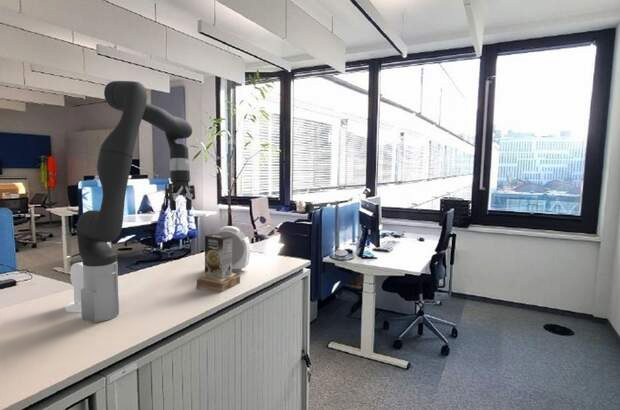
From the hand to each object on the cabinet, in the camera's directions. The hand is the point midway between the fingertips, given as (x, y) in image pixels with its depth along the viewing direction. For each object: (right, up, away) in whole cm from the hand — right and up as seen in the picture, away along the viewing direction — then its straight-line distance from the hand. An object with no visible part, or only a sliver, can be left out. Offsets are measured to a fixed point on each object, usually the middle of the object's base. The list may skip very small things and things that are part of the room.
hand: (181, 210), depth 145 cm
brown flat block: (+16, -30, -1) cm, 34 cm away
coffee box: (+16, -26, -2) cm, 30 cm away
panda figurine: (-23, -32, -25) cm, 47 cm away
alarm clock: (+15, -28, +18) cm, 37 cm away
